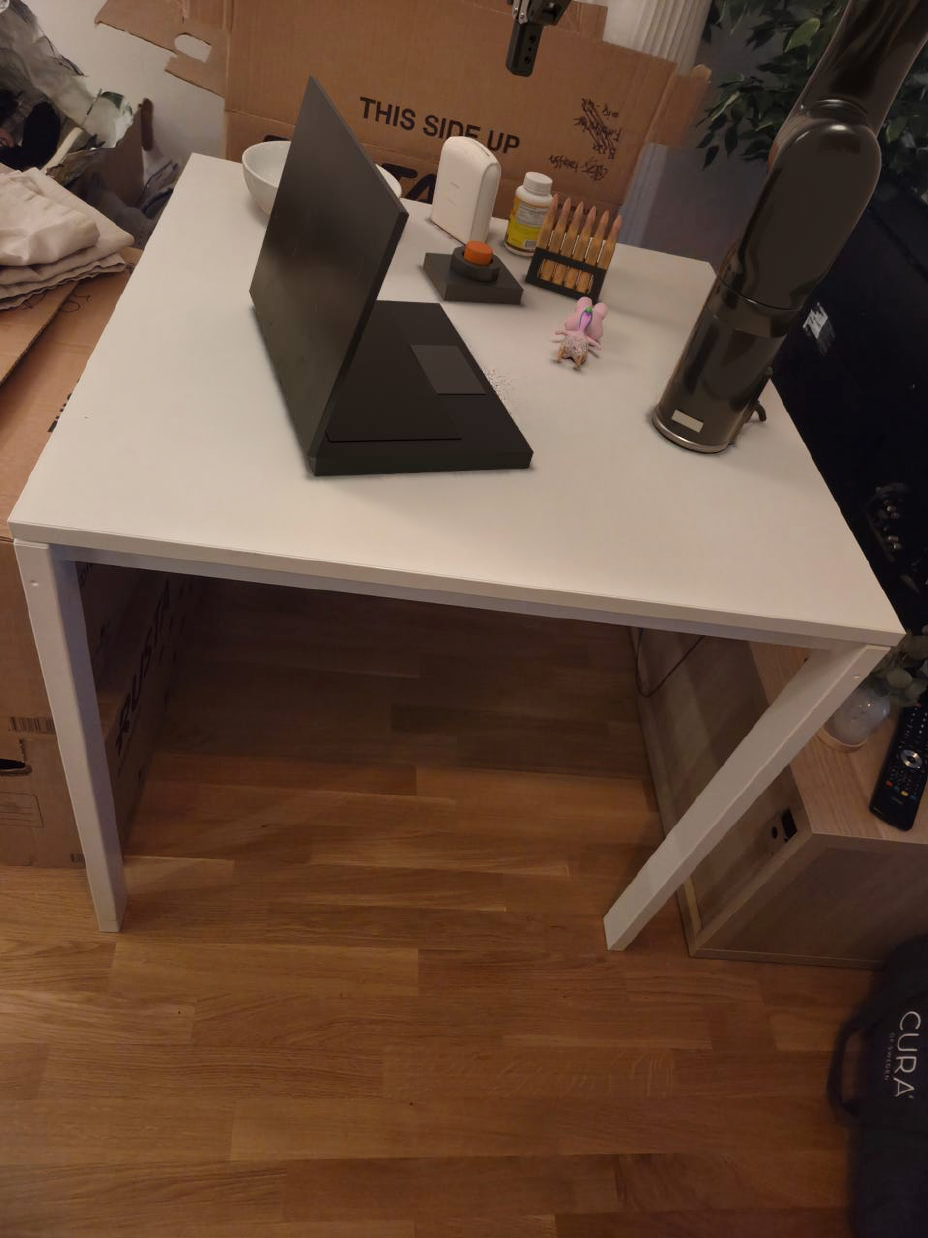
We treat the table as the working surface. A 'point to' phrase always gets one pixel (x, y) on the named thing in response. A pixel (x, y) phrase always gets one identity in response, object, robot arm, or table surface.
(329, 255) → the laptop screen
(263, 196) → the serving bowl
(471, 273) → the switch box
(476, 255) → the power button
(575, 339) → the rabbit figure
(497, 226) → the table surface
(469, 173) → the photo printer
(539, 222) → the supplement bottle
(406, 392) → the laptop
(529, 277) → the ammunition clip
